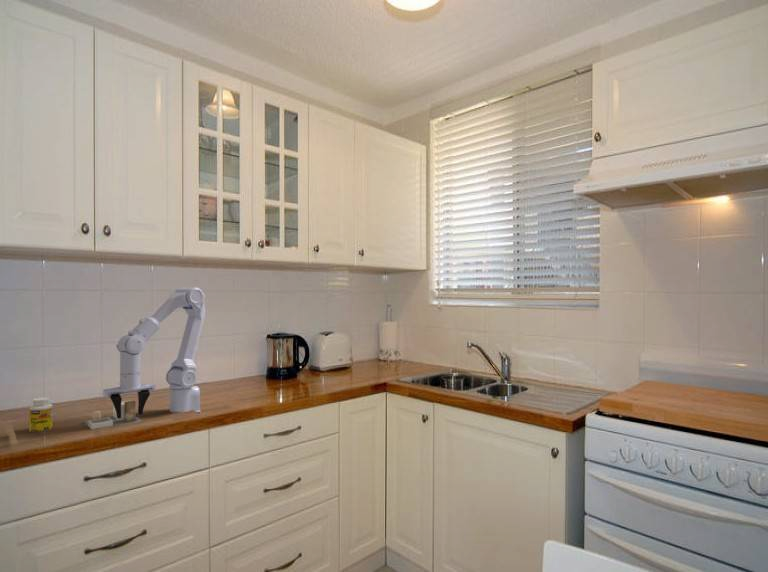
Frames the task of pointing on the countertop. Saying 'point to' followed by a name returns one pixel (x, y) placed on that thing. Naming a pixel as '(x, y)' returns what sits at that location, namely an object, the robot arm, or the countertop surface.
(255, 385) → the countertop surface
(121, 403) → the cover
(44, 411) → the supplement bottle
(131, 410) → the loose pin
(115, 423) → the board
